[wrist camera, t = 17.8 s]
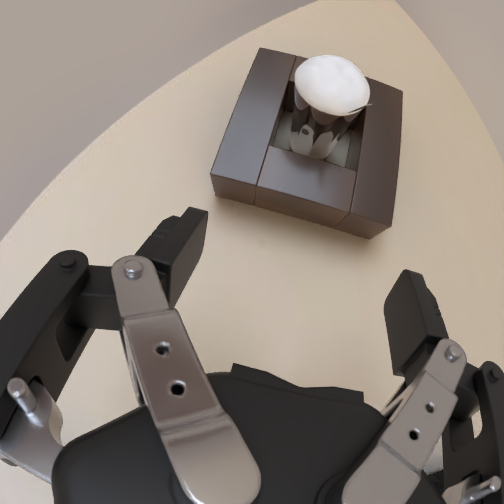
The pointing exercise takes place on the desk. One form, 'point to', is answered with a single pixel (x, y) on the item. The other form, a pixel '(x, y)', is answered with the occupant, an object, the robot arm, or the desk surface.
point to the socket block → (307, 168)
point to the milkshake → (325, 103)
